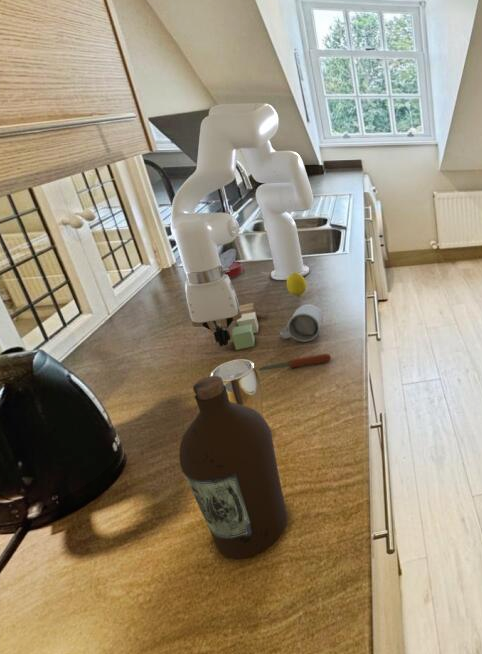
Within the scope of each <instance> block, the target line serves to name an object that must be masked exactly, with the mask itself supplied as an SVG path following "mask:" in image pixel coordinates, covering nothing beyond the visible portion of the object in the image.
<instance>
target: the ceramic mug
mask: <svg viewBox="0 0 482 654" xmlns="http://www.w3.org/2000/svg"><path fill="white" fill-rule="evenodd" d="M323 320H324V316H323V312H322V310H321V309H320V307H318V306H317V305H314V304H310V303H308V304H303V305H301V306H299V307H298V308H297V309H296V310H295V311H294V313H293V315H292V316H291V317H290V319H289V320H288V322H287V325H286V326H285V327H284V328H282V330H281V331H280V333H279V335H280V336H281V337H282V339H284V340H285V339H288V338H292V339H294V340H295V341H298V342H303V343H305V342H311V341H313V340H315V339H316V338H317V337H318V336H319V333H320V330H321V327H322V324H323Z"/></svg>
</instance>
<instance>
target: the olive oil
mask: <svg viewBox="0 0 482 654" xmlns="http://www.w3.org/2000/svg"><path fill="white" fill-rule="evenodd" d="M192 389H193V392H194V394H195V396H194V399H195V401H196V405H197V407H198V410H199V413H198V414H197V415H196V417H195V418H194V419H193V420H192V422H191V423H190V425H189V426H188V427H187V428H186V430H185V432H184V434H183V435H182V437H181V441H180V445H179V455H178V456H179V457H178V458H179V465H180V467H181V468H180V469H181V473H182V474H183V476H184V477H185V479H186V482H187V483H188V486H189V488H190V490H191V493H192V494H193V497H194V499H195V501H196V503H197V505H198V508H199V510H200V512H201V514H202V516H203V519H204V521H205V523H206V525H207V528H208V530H209V532H210V534H211V537H212V539H213V541H214V544H215V546H216V548H217V550H218V552H219V553H220V554H221V555H222V556H224V557H226V558H229V559H235V560H237V559H238V560H240V559H241V560H242V559H247V558H250V557H253V556H256V555H258V554H260V553H262V552H264V551H265V550H267V549H268V548H269V547H271V546H272V545H273V544H274V543H275V542H276V541H277V540H278V539H279V538H280V537H281V535H282V534H283V532H284V530H285V529H286V526H287V522H288V512H287V507H286V502H285V498H284V494H283V489H282V484H281V479H280V473H279V468H278V463H277V458H276V452H275V447H274V442H273V435H272V431H271V428H270V425H269V424H268V422H267V421H266V419H265V418H263V417H264V416H263V417H262V416H261V415H260V414H259V413H258V412H257V411H255V410H254V409H252V408H249V407H247V406H243V405H240V404H236V403H233V402H230V401H229V398H228V394H227V390H226V387H225V386H224V385H223V380H222V378H221V377H219V376H211V375H209V376H207V377H204V378H201V379H199V380H198V381H196V382H195V383H194V385H193V387H192Z"/></svg>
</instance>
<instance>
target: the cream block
mask: <svg viewBox="0 0 482 654" xmlns="http://www.w3.org/2000/svg"><path fill="white" fill-rule="evenodd" d="M255 312H256V311H255ZM255 312H252V313H247V314H242V317H241V318H240V319H238V320H236V323H237V324H236V325H237V327H240V326H245V325H250V324H251V326H252V330H253V334H257V333H259V322H258V318H257V313H255Z"/></svg>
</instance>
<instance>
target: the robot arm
mask: <svg viewBox="0 0 482 654" xmlns="http://www.w3.org/2000/svg"><path fill="white" fill-rule="evenodd" d="M279 125H280V124H279V116H278V113H277V111H276V110H275V108H274V107H273V106H272V105H271V104H269V103H267V102H251V103H249V102H248V103H223V104H216V105H214V106H212V107H211V108H210V109H209V111H208V115H206V116H205V117H204V118H203V119H202V120H201V122H200V128H199V138H198V139H199V140H198V149H197V150H198V151H197V157H196V169H195V171H194V172H193V173H192V174H191V175H190V176H188V178H187V179H186V180H185V181H184V182H183V183H182V184H181V186H180V187H179V188H178V190H177V191H176V193H175V195H174V197H173V199H172V202H171V210H170V211H171V212H170V233H171V235H172V237H173V238H174V241H175V245H176V248H177V251H178V254H179V258H180V262H181V265H182V267H183V271H184V274H185V275H184V276H185V277H186V281H185V284H184V288H185V289H184V290H185V297H186V302H187V308H188V313H189V317H190V320H191V321H192V323H191V324H192V327H195V328H202V327H203V328H206V329H207V330H209V331H210V332H211V333H213V336H214V339H215V342H216V343H218V345H219V347H223V346H228V344H229V341H230V340H231V335H230V332H229V326H231V324H232V323H233V322H235V321H237V320H238V319H240V318H241V317H242V314H241V312H240V310H239V306H240V303H239V301H238V300H239V299H238V296H237V293H236V291H235V288H234V285H233V283H232V281H231V278H229V277H228V275H226V274H225V273H226V272H230V270H229V266H226V267H225V266H223V265H222V264H221V262H220V259H219V256H220V255H219V251H218V248H219V247H221V246H224V245H227V244H230V243H232V242H233V241H234V240H236V239H237V236H238V235H239V234H240V233H239V232H240V225H239V221H238V220H237V218H236V217H235V216H233V215H232V214H230V213H227V212H195V210H196V208H197V206H198V204H199V203H200V202H201V201H202V200H203V199H204V198H205V197H207V196H208V195H209V194H212V193H214V192H216V191H218V190H220V189H221V188H224V187H225V186H228V185H229V184H230V183H232V182H234V180H235V179H236V173H237V172H236V171H237V159H238V150H239V149H240V151H241V152H242V155H243V158H244V160H245V163H246V165H247V168H248V170H249V172H250V175H251V177H252V178H253V179H254V180H255V182H257V183H261V185H258V187H257V188H256V190H255V201H256V203H257V206H258V208H259V210H260V213H261V216H262V218H263V222H264V226H265V232H266V234H267V240H268V245H269V248H270V249H269V250H270V254H271V258H272V263H273V269H274V270H272V271H271V272H270V277H271V279H273V280H275V281H276V280H277V281H287V278H288V277H289V276H290V275H291V274H293V273H294V272H295V273H298V274H300V275H302V276H303V277H305V276H306V275H308V274H309V273H310V268H309V266H307V265H305V264H304V261H303V255H302V249H301V244H300V239H299V233H298V228H297V223H296V222H295V220H294V218H293V217H292V216H291V215H290V213H291V212H307V211H309V210H311V209H312V207H313V206H314V201H315V199H314V193H313V190H312V187H311V182H310V180H309V177H308V173H307V171H306V167H305V164H304V161H303V159H302V157H301V156H300V155H299V154H298V153H297V152H296V151H293V150H276V149H274V148H273V146H272V143H271V139H272V138H273V137H274V136H275V135H276V133H277V132H278V129H279ZM219 320H220V325H218V322H217V321H219Z"/></svg>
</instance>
